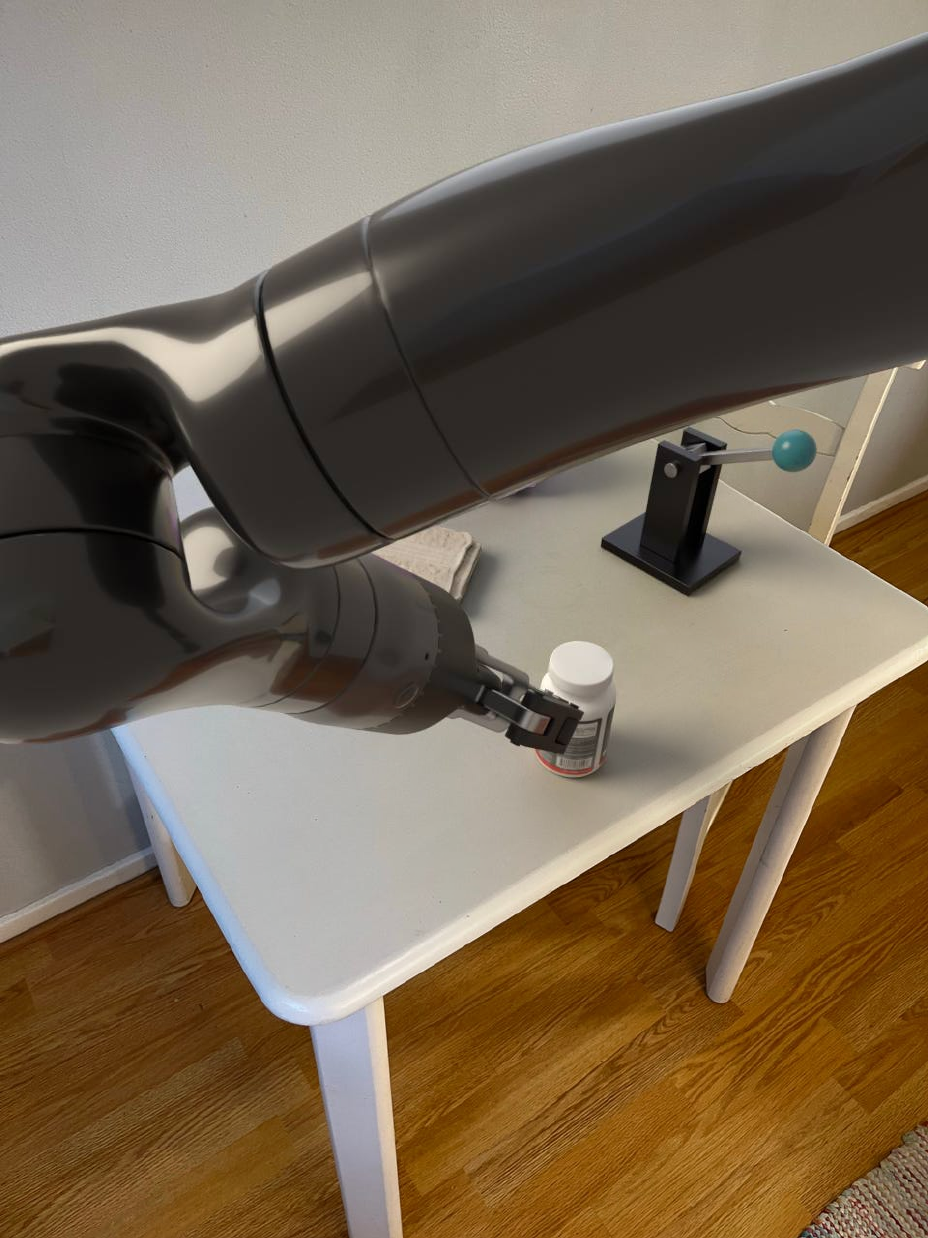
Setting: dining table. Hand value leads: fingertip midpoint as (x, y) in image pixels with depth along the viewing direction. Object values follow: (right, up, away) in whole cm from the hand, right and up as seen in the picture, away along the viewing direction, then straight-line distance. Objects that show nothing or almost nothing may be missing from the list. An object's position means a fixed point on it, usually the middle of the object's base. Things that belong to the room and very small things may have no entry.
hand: (496, 684), depth 54 cm
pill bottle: (+6, -7, +18) cm, 20 cm away
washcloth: (-10, +8, +35) cm, 38 cm away
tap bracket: (+19, +11, +39) cm, 45 cm away
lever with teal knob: (+24, +17, +28) cm, 40 cm away
